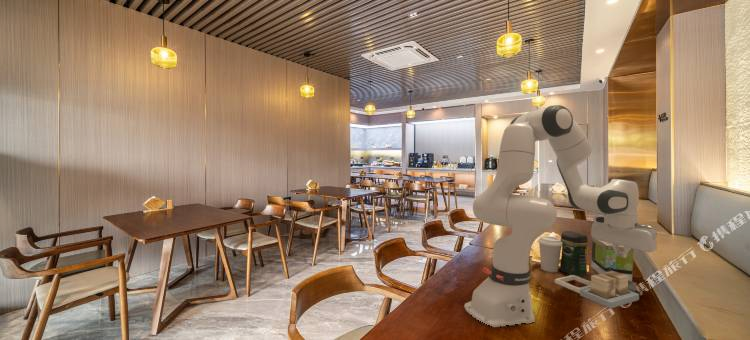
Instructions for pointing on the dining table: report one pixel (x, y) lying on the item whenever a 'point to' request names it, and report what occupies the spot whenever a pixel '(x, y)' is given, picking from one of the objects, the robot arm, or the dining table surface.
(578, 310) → the dining table surface
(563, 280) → the tray
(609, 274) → the block
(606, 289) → the seated block
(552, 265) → the coffee cup
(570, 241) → the coffee jar
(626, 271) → the tea box
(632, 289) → the dark grey square housing
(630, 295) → the grey hollow frame
